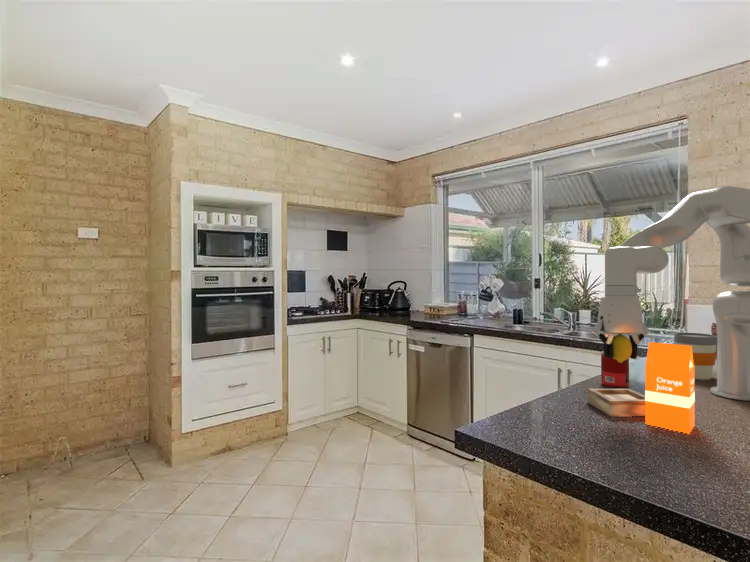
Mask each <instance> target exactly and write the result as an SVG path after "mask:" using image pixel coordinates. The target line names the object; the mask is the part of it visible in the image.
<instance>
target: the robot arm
mask: <svg viewBox="0 0 750 562" xmlns="http://www.w3.org/2000/svg"><path fill="white" fill-rule="evenodd" d="M704 223H706V225H708V226H709V227H710V228H711V229H712V230H713V231H714V232H715V234H716V236H718V238H719V243H720V256H719V257H720V259H719V260H720V262H719V264H720V265H719V273H720V275H719V276H720V279H721V281H722V283H723V284H725V285H727V286H732V287H744V288H745V287H747V288H748V287H749V288H750V225H748V224H750V188H744V187H738V186H731V185H729V186H728V185H726V186H719V187H714V188H709V189H704V190H698V191H695V192H692V193H690V194H688V195H687V196H685V197H684V198H683V199H682V200H681V201H680V202H678V204H676V206H675V207H673V208H672V209H671V210H670V211H669V212H668V213H667V214H666V215H665V216H664V217H662V218H661V220H659V221H657V222H655V223H653V224H650V225H648V226H647V227H644V229H642V230H640V231H638V232H636V233H634V234H632V235H631V236H630V237H628V238H627V239H625V240H624V241H623V243H621V244H620V245H619V246H613V247H608V248H607V249H606V250H605V251H604V296H601V298H600V303H599V307H598V315H597V323H596V324H595V325H594V326H593V328H592V329H590V330H591V332H592V333H593V335H595V336H596V337H597V338H598V339H599V340H600V341H601V343H603V350H602V351H603V353H604V355H605V357H606V358H609V359H612V358H613V344H611V341H612V338H613V337H614V336H615V335H618V334H622V335H627V336H626V337H627V338H628V339H629V340H630V342H631V345H632V353H631V356H630V357H629V359H633V360H637V359H638V358H637V357H638V356H637V355H638V345H639V344H640V342H641V341H643V339H644V338H645V337H646V336H647V335H648V334H649V333H650V328H648V327H647V326H646V325H645V323H644V322H643V311H642V310H643V309H642V306H641V300H640V297H638V293H641V292H642V288H641V287H638V285H637V278H638V275H637V274H644V275H645V274H657V273H660V272H662V271H664V270H665V268H666V267H667V266H668V264H669V262H670V260H669V255H668V253H667V251H665V248H668V247H673V246H676V245H679V244H681V243H683V242H685V241H687V240H688V239H690V237H691V236H693V234H695V232H696V231H698V230H699V229H700V228H701V227H702V225H704ZM712 311H713V315H714V320H715V324H716V336H717V345H716V352H717V354H716V386H711V387H710V392H711V394H713V395H716V396H719V397H722V398H726V399H732V400H736V401H737V400H738V401H747V402H748V401H749V402H750V291H749V290H748V291H747V290H729V291H722V292H720V293H718V294H717V295H716V296H715V297H714V299H713V301H712ZM602 332H603V333H602Z"/></svg>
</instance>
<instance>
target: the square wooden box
mask: <svg viewBox="0 0 750 562" xmlns="http://www.w3.org/2000/svg"><path fill="white" fill-rule="evenodd" d="M587 403H588V404H590V405H591V406H592V407H594V408H596V409H598V410H599V411H601V412H603V413H604V414H606V415H607V416H609V417H632V416H643V415H644V416H645V394H642V393H640V392H639V391H636V390H633V389H632V388H587Z"/></svg>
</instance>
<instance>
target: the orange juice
mask: <svg viewBox="0 0 750 562" xmlns="http://www.w3.org/2000/svg"><path fill="white" fill-rule="evenodd" d="M644 367H645V368H644V370H645V371H644V373H645V374H644V375H645V377H644V378H645V380H644V382H645V384H644V388H645V389H644V395H645V417H644V420H645V423H644V424H647V425H651V426H650V427H652V426H657V427H661V428H665V429H664V430H666V429H669V430H668V431H671V430H673V431H672V432H675V431H678V432H677V433H680V432H683V433H682V434H685V433H687V434H686V435H690V434H691V433H692V431H693V429H694V428H695V424H696V421H695V419H696V418H695V415H696V414H695V413H696V412H695V409H696V408H695V407H696V406H695V402H696V397H695V396H696V394H695V393H696V391H695V383H696V382H695V380H696V379H695V366H694V362H693V354H692V346H688V345H677V344H675V343H664V342H663V343H662V342H654V341H653V342H652V341H649V342H648V347H647V353H646V359H645V366H644ZM647 425H646V426H647ZM657 427H656V428H657ZM661 428H660V429H661ZM690 432H691V433H690Z"/></svg>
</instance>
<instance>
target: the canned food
mask: <svg viewBox="0 0 750 562" xmlns="http://www.w3.org/2000/svg"><path fill="white" fill-rule="evenodd" d="M600 358H601V359H600V362H601V364H600V370H601V375H600V376H601V377H600V378H601V385H603V386H604V385H605V386H604V387H608V386H610V387H609V388H613V387H627V386H628V387H629V385H630V358H628V359H627V360H624V361H623V362H622V363H619V362H618V361H617V360H616V359H614V358H612V359H609V358H606V357H605V355H604V353H603V350H602V351H601V354H600ZM628 387H627V388H628Z"/></svg>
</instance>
